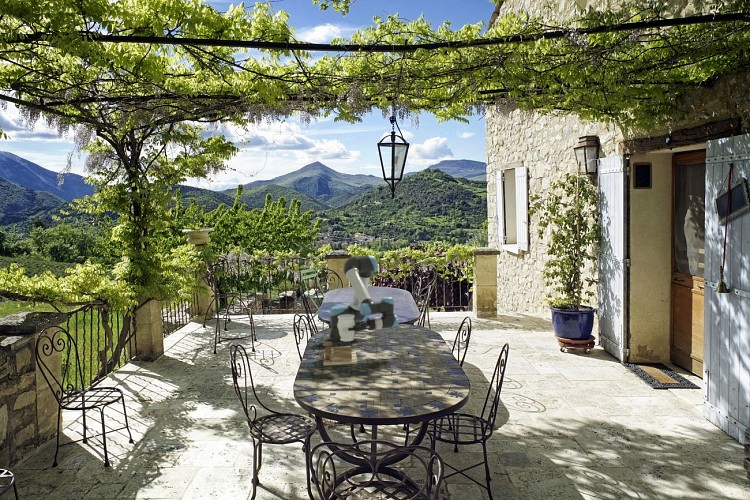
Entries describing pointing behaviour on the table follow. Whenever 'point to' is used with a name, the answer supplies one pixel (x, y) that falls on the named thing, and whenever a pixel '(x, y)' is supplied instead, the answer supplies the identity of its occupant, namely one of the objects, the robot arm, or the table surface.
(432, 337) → the table surface
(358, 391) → the table surface
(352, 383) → the table surface
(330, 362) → the tan wooden platform
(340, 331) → the jar
